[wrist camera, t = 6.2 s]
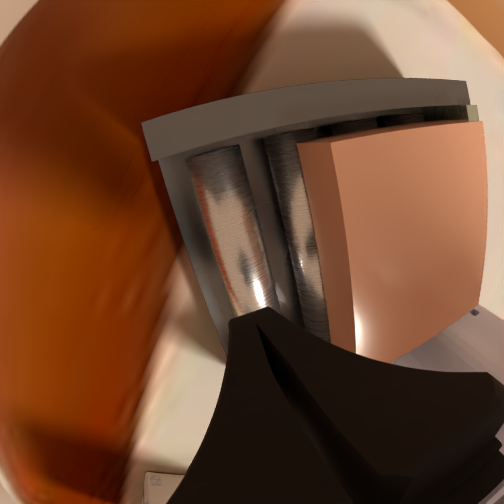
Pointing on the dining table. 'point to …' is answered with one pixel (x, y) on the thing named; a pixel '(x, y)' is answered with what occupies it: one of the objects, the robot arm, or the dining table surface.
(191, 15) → the dining table surface
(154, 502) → the light bulb box
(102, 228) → the dining table surface
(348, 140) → the slab
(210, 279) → the roller bed
